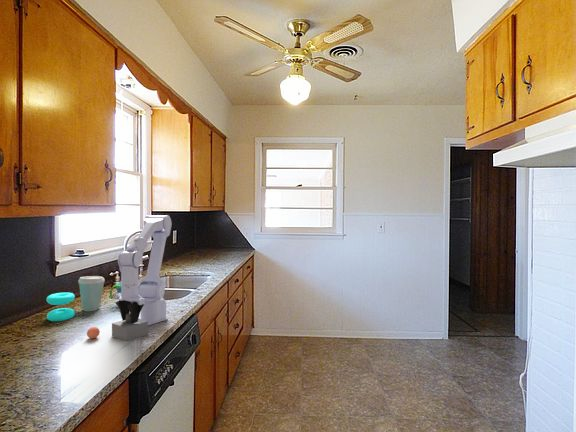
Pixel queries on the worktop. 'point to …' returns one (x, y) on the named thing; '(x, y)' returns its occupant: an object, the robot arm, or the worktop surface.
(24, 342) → the worktop surface
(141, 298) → the robot arm
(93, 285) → the disposable coffee cup
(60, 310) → the donuts
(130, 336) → the grey block
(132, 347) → the worktop surface
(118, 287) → the snack cup
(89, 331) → the ball
